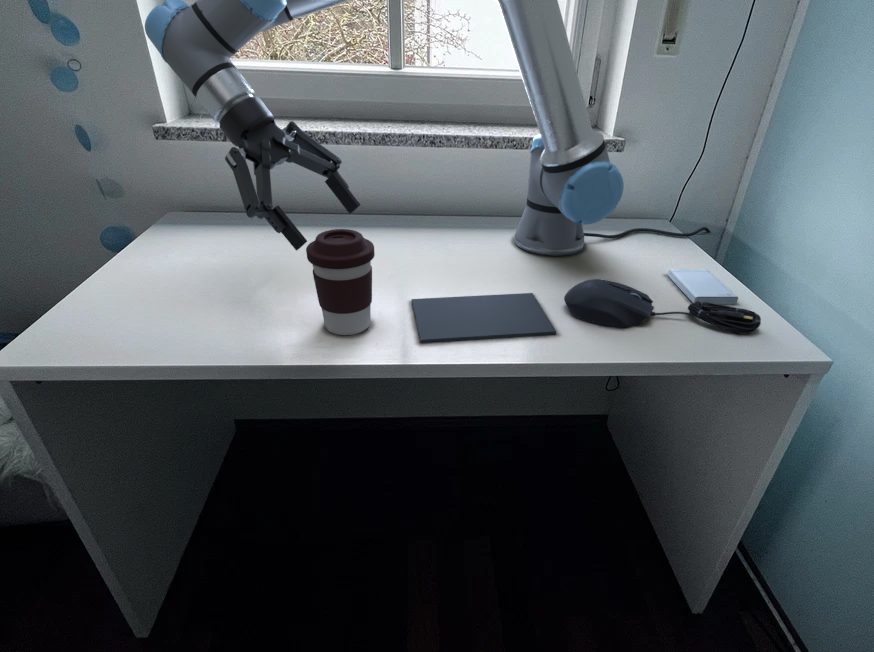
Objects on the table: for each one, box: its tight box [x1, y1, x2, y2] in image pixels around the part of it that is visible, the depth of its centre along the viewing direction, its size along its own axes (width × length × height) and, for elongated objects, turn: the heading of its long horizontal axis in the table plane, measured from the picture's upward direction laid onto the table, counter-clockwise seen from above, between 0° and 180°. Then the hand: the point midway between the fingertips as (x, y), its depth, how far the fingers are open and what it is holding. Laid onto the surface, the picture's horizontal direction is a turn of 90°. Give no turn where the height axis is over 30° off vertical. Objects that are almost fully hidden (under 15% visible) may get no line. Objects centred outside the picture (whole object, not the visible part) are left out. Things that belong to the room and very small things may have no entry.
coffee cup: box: [305, 228, 376, 336], centre depth 84 cm, size 10×10×15 cm
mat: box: [411, 292, 557, 344], centre depth 92 cm, size 22×14×1 cm, turn 100°
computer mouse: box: [563, 278, 762, 334], centre depth 92 cm, size 10×32×6 cm, turn 82°
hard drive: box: [667, 268, 739, 305], centre depth 104 cm, size 2×8×12 cm
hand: (330, 227), depth 88 cm, fingers open, 13 cm apart
